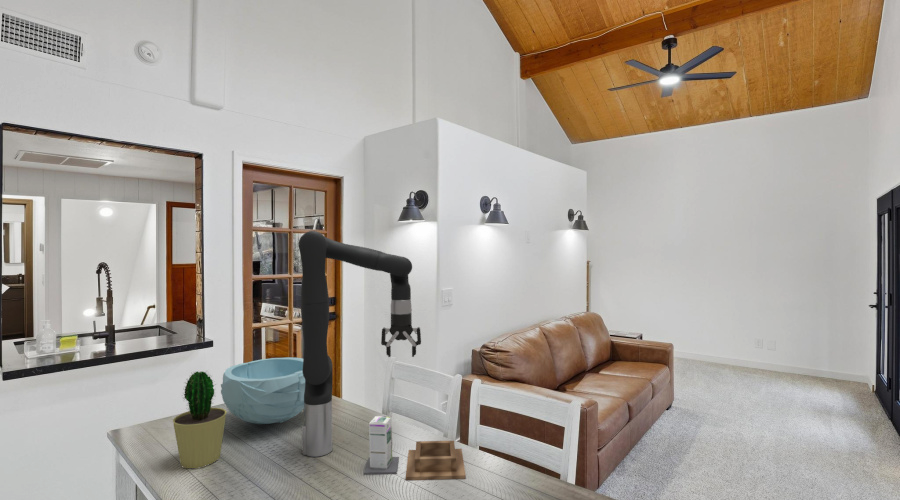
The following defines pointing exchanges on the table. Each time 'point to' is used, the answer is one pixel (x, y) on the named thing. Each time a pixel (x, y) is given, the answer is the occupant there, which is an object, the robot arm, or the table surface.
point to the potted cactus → (199, 424)
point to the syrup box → (380, 442)
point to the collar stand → (435, 461)
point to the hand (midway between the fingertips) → (401, 356)
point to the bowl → (265, 390)
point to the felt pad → (390, 470)
